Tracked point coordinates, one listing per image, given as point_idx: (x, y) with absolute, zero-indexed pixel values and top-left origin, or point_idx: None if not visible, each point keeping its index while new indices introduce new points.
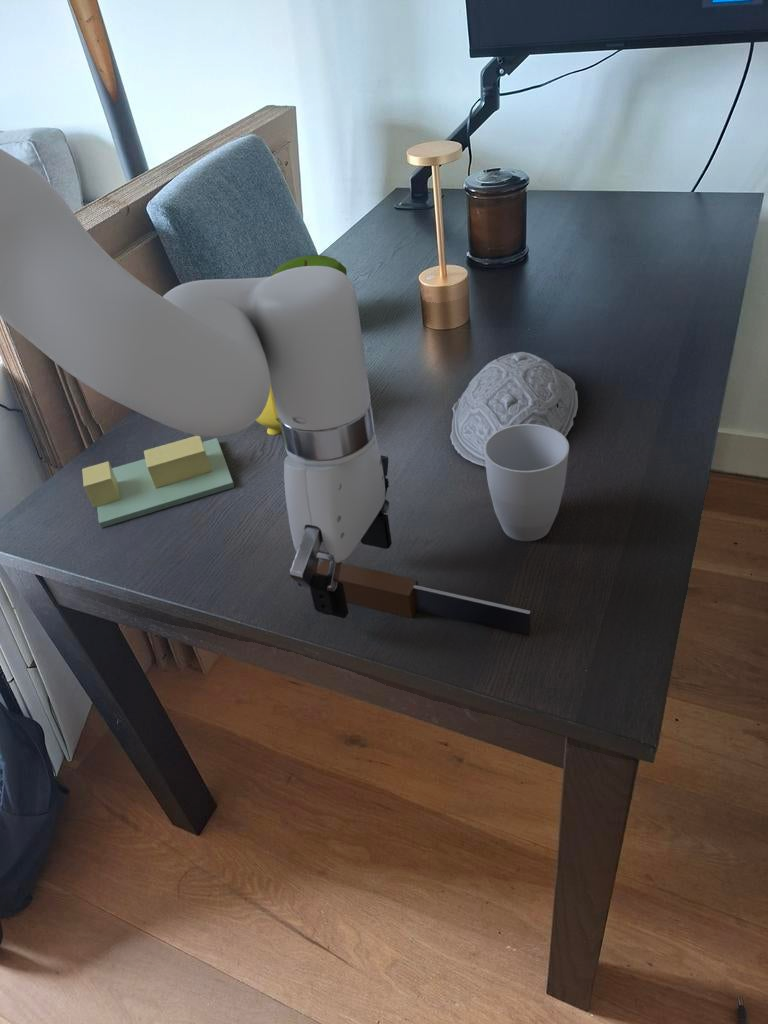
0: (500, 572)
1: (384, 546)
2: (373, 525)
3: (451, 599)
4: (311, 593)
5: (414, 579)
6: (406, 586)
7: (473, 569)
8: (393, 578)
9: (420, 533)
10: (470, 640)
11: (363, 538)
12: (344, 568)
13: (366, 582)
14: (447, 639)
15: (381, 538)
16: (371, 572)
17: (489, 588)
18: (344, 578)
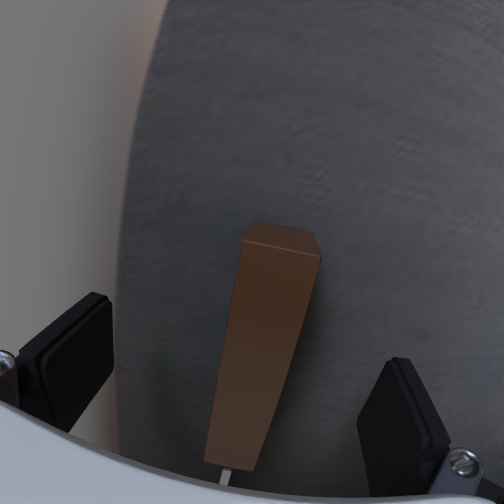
0: (331, 492)
1: (359, 420)
2: (385, 457)
3: None
4: (55, 320)
5: (253, 467)
6: (229, 458)
7: (341, 472)
8: (250, 440)
9: (450, 390)
10: (190, 472)
11: (390, 380)
12: (279, 333)
13: (227, 395)
14: (184, 453)
15: (367, 435)
16: (267, 400)
17: (297, 488)
18: (234, 341)
